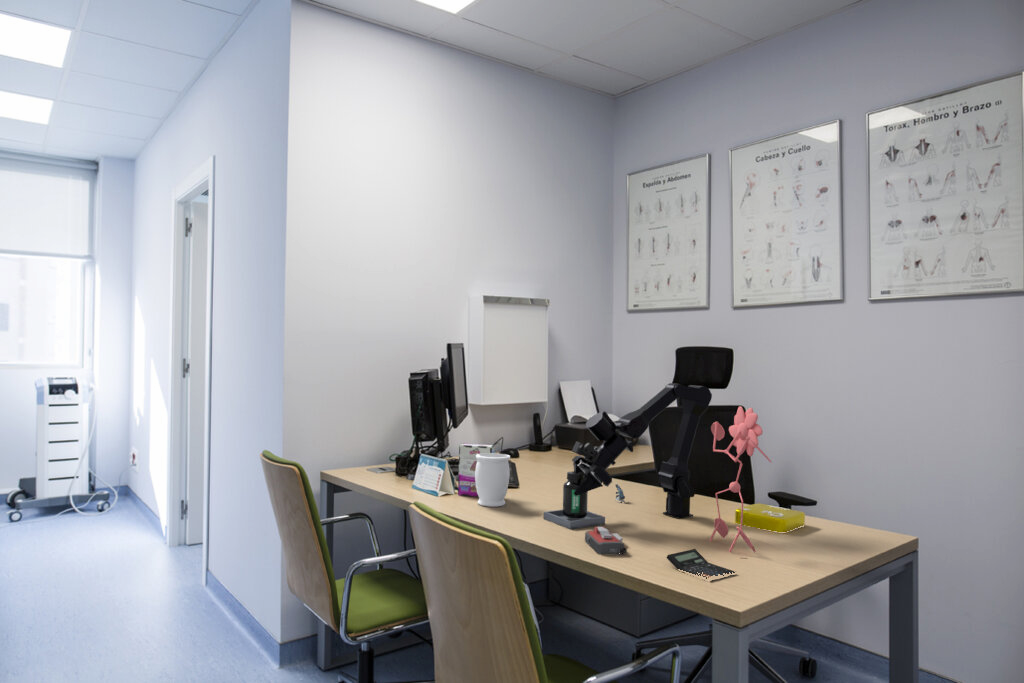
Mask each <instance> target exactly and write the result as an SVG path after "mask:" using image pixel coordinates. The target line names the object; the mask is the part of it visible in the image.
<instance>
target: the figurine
mask: <svg viewBox="0 0 1024 683" xmlns="http://www.w3.org/2000/svg"><path fill="white" fill-rule="evenodd" d="M733 417H734V418H733V420H734V421H733V425H730V426H729V427H728V432H729V435H730V436H731V437H732V438H733V440H732V441H731V442H730V444H729V445H728V446H727V448H726V449H724V450H723V449H716V443H717V441H721V440H722V439H724V437H725V434H726V433H725V429H724V427H723V426H722V424H720V423H719V421H715V422H713V423H712V424H711V425H710V431H711V433H712V435H713V445H712V452H714V453H715V452H716V453H724V454H725V455H728V456H729V457H730V459H732V460H733V461H734V463H737V462H738V463H739V467H738V468H739V469H738V471H737V476H736V480H735V481H732V482H730V483H729V487H728V488H726V489H724V490H721V491H717V492H715V501H716V506H717V507H716V508H717V513H718V517H717V518H715V519H714V522H713V526H714V530H713V532H712V534H711V536H710V538H709V540H708V541H709V542H712V541H713V538H715V537H714V536H715V535H716V533H718V534H719V536H721V538H723V539H725V538H726V537H727V535H728V534H729V527H728V524H727V523H726V522H725V520H723V519H722V518H721V510H720V504H719V500H718V498H719V497H718V495H719V494H722V493H724V492H727V491H731V492H732V493H738V494H739V497H740V501H741V508H742V509H741V525H740V527H739V526H736V530H737V533H736V534H735V535H736V536H735V538H734V539H733V541H732V543H731V546H730V548H729V550H728V552H730V553H732V551H733V549H734V547H735V545H736V542H737V541H738V539H739V537H740V536H741V538H742V540H743V541H744V543H746V545H747V546H748V547H749V548H750V549H751V550H752V551H753V553H755V552H756V549H755V547H754V544H752V542H751V539H749V538H748V537H749V536H747V534H746V533H745V532H744V531H743V525H742V519H743V507H744V499H743V496H742V493H741V484H740V483H739V477H740V476H741V475H740V474H741V470H742V468H743V465H744V464H743V463H742V462H743V461H741V460H740V459H739V458H740V456H741V455H742V454H743V453H744V452H745V451H746V453H747V455H748V456H749V457H752V456H753V455H754V452H755V449H757V450H758V451H759V453H761V454H762V456H764V458H765V459H766V460H768V462H769V463H772V461H771V459H770V458H769V457H768V456H767V455H766V454H765V453H764V451H763V450H762V449H761V448H760V447H759V440H758V437H760V436H761V435H763V428H762V427H761V426H760V425H759V424H758V423H757V421H758V419H759V417H758V414H757V413H756V412H754V408H753V407H750V408H747V409H746V411H745V410H744V408H743V406H738V408H737V411H736V414H735V415H734V416H733ZM732 446H734V447H735V448H736V453H737V455H736V456H734V455H733V454H732V453H730V449H731V448H732ZM730 535H731V536H733V534H732V533H731V534H730ZM756 553H757V552H756ZM741 559H745V560H747V559H748V557H741Z"/></svg>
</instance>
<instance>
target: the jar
mask: <svg viewBox="0 0 1024 683" xmlns="http://www.w3.org/2000/svg"><path fill="white" fill-rule="evenodd" d="M476 459H477V460H478V461H477V464H476V470H475V481H476V490H477V494H478V496H479V497H478V498H479V499H477V504H478V505H479V506H482V507H490V508H492V507H493V508H494V507H495V508H496V507H502V506H505V505H506V501H505V498H506V496H507V493H508V489H509V488H508V487H509V484H510V477H511V476H510V475H511V473H510V471H511V470H510V464H509V461H510V460H511V455H509V454H506V453H497V452H495V453H482V454H477V455H476Z"/></svg>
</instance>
